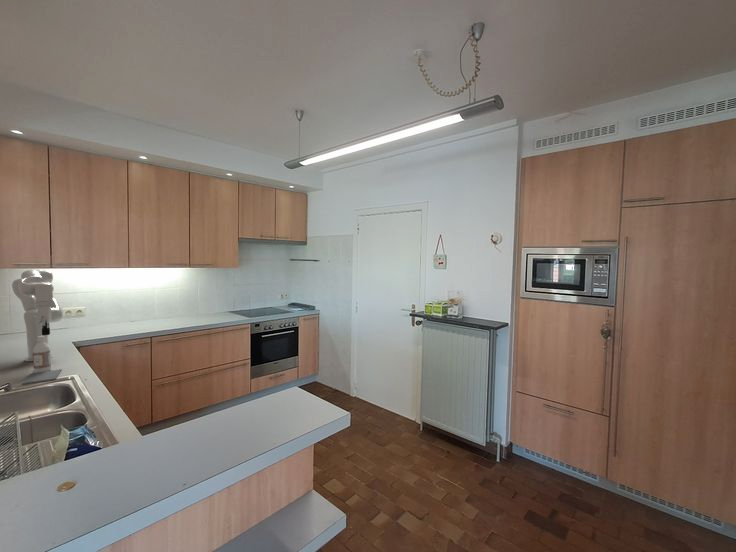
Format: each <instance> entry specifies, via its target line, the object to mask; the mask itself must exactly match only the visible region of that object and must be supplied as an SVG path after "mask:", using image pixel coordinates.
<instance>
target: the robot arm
mask: <svg viewBox="0 0 736 552" xmlns="http://www.w3.org/2000/svg"><path fill="white" fill-rule="evenodd" d="M53 280H54V276H53V272H51V270H48V269H29V270H24V271H23V272H22V273H21V275H20V278H17V279H15V280H13V281H12V283H11V287H12V292H13V294H14V295H15V296H16V297H17V298H18V299H19V300H20V301H21V304H22V307H23V309H24V311H25V312H24V313H23V320H24V324H25V329H26V344H27V348H26V349H27V357H25V358H24V362H33V349H34V347H35V346H36V344H37V343H38V342H37V337H38V336H45V343H46V344H47V345H48V346H49V347H50V345H49V335H50V334H51V329H50V324H51V323H58V322H60V321H61V320H63V311H62V308H61V307H60V305H59V302H58V301H57V299H56V298H54V285H53V284H52V283H53ZM52 357H53V354H51V353H50V358H51V359H52Z"/></svg>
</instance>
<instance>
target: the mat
mask: <svg viewBox="0 0 736 552" xmlns="http://www.w3.org/2000/svg"><path fill="white" fill-rule="evenodd" d="M61 372H62V369H61V368H59V369H53V370H52V369H51V370H49V371H45V372H38V373H35V372H32V373H29V374H28V376H26V377H25V379H24V380H23V381H22V382H21V385H22V386H23V385H24V386H25V385H30V384H37V383H42V382H49V381H56V380H57V378H58V376H60V374H61Z"/></svg>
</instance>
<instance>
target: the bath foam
mask: <svg viewBox="0 0 736 552" xmlns="http://www.w3.org/2000/svg"><path fill="white" fill-rule="evenodd" d="M37 342H38V343H37V344H36V346H35V347H34V349H33V361H32V362H33V363H32V364H33V373H38V372H45V371H52V364H51V363H52V362H51V361H52V357H51V358H50V354H51V348H50V345H49V346H48V345H47V344H46V343H45V336H38V337H37Z"/></svg>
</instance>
